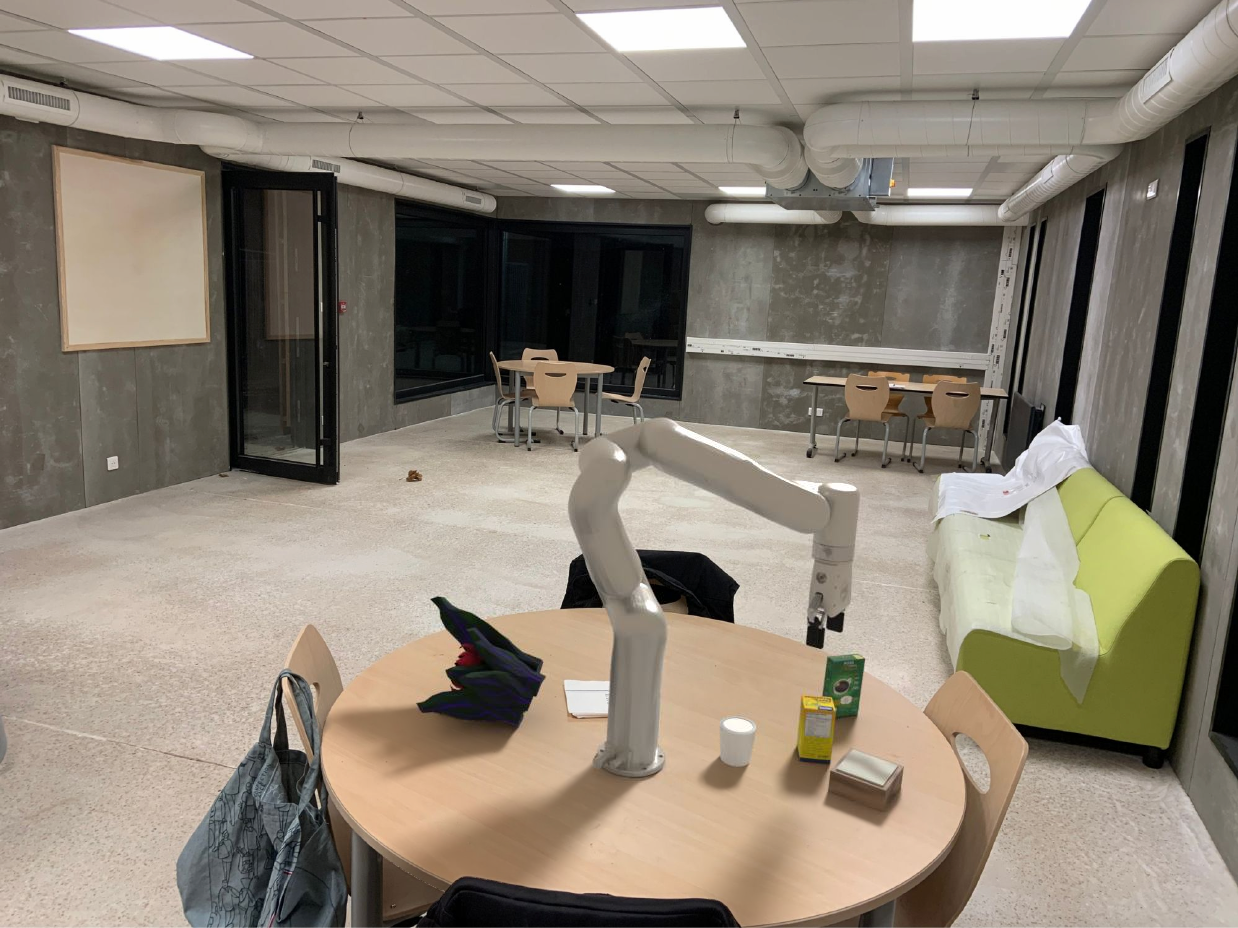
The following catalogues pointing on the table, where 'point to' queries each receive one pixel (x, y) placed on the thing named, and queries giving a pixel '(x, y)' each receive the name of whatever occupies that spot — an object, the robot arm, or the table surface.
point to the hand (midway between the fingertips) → (824, 638)
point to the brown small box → (866, 779)
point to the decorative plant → (484, 672)
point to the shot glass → (736, 740)
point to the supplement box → (816, 729)
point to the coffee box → (844, 683)
